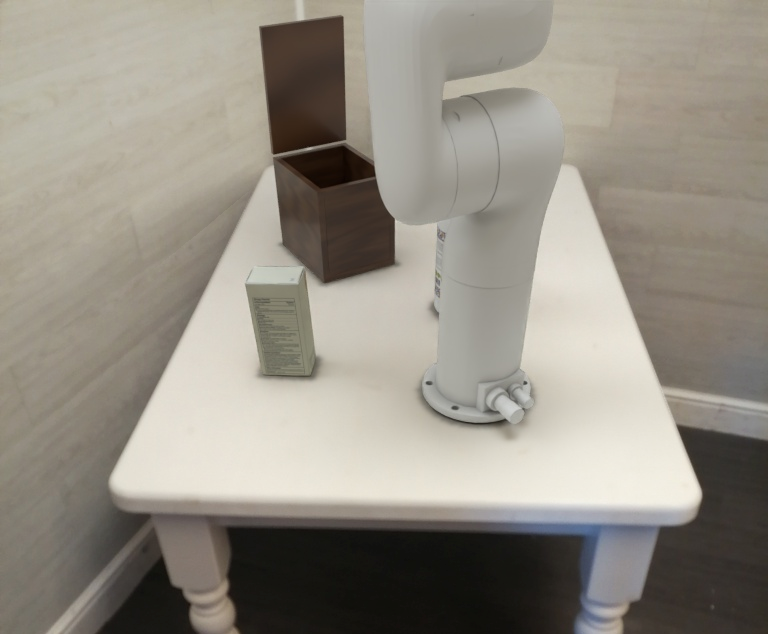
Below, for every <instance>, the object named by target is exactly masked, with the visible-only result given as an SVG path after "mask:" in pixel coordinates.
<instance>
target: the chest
mask: <svg viewBox="0 0 768 634" xmlns="http://www.w3.org/2000/svg"><path fill="white" fill-rule="evenodd" d="M272 160H273V161H272V163H273V170H274V171H273V172H274V179H275V189H276V197H277V206H278V215H279V223H280V233H281V242H282V244H283V246H285V248H286V249H287V250H289V252H291V253H292V254H293V255H294V257H296V258H297V259H298V260H299V261H300V262H301V263H302V264H303V265H304V266H305V267H306V268H307V269H308V270H309V271H311V272H312V273H313V274H314V275H315V276H316V277H317V278H318V279H319V280H320V281H321V282H322V283H323V284H328V283H331V282H334V281H338V280H342V279H345V278H349V277H352V276H357V275H360V274H364V273H367V272H370V271H374V270H378V269H382V268H385V267H389V266H392V265H395V264H396V219H395V218H394V217H393V216H392V215H391V214H390V213H389V212H388V210H387V208H386V207H385V205H384V203H383V200H382V198H381V195H380V192H379V188H378V184H377V179H376V173H375V166H374V159H371V158H370V157H369V156H367V155H365V153H362V152H361V151H359V150H357V149H356V148H354V147H353V146H351V145H350V144H348V143H347V142H342V143H337V144H332V145H326V146H322V147H317V148H313V149H307V150H303V151H297V152H294V153H288V154H283V155H278V156H274V157H272Z"/></svg>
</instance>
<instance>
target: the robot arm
mask: <svg viewBox="0 0 768 634" xmlns="http://www.w3.org/2000/svg"><path fill="white" fill-rule="evenodd" d="M553 12H554V0H364V1H363V9H362V31H363V33H362V35H363V51H364V62H365V74H366V84H367V85H366V86H367V97H368V108H369V109H368V110H369V120H370V133H371V145H372V155H373V161H374V166H375V173H376V179H377V184H378V188H379V192H380V195H381V198H382V200H383V203H384V205H385V207H386V208H387V210H388V212H389V213H390V214H391V215H392V216H393V217H394V218H395V221H397V222H400V223H401V224H404V225H407V226H423V225H424V226H425V225H430V224H434V223H438V222H439V221H443V220H447V219H451V218H452V219H451V222H450V224H449V227H448V229H447V233H446V236H445V240H444V244H443V252H442V266H441V285H440V305H439V313H438V328H437V350H436V362H435V363H433V364H432V365H431V366H430V367H429V368H427V370H426V372H425V373H424V375H423V377H422V385H421V388H422V395H423V397H424V400H425V401H426V402H427V404H428V405H429V406H430V407H431V408H432V409H434V410H435V411H436V412H438V413H439V414H442V415H443V416H445V417H448V418H451V419H453V420H457V421H461V422H466V423H475V424H485V423H495V422H498V421H503V420H507V422H509V423H510V424H511V425H517V424H519V423H520V422H521V421H522V420H523V419H524V417H525V414H526V413H525V410H529V409H531V408H532V407H533V406H534V405H535V399H534V398H533V397H532V396H530V394H531V389H532V388H531V382H530V379H529V377H528V376H527V374H526V372H525V371H523V369H522V368H521V366H522V365H521V364H522V358H523V352H524V345H525V339H526V331H527V324H528V317H529V311H530V304H531V297H532V290H533V283H534V276H535V271H536V265H537V258H538V251H539V247H540V246H539V245H540V241H541V235H542V230H543V225H544V221H545V217H546V213H547V210H548V207H549V204H550V201H551V197H552V196H553V192H554V189H555V187H556V184H557V181H558V179H559V175H560V172H561V168H562V164H563V159H564V154H565V141H566V135H565V127H564V123H563V119H562V116H561V114H560V112H559V110H558V108H557V107H556V105H555V104H554V102H552V100H551V99H549V98H548V97H547V96H546V95H545V94H543V93H541V92H539V91H537V90H534V89H531V88H527V87H514V86H513V87H503V88H496V89H491V90H490V89H489V90H485V91H480V92H474V93H469V94H463V95H460V96H457V97H452V98H446V99H444V98H443V97H444V87H445V82H446V83H447V82H451V81H452V82H453V81H458V80H464V79H469V78H475V77H482V76H487V75H491V74H496V73H501V72H506V71H510V70H514V69H517V68H520V67H523V66H525V65H527V64H528V63H530V62H533V61H534V60H535V59H536V58H537V57H539V55H540V54H541V53H542V52H543V50H544V48H545V46H547V42H548V39H549V36H550V33H551V28H552V21H553ZM524 409H525V410H524Z"/></svg>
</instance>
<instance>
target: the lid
mask: <svg viewBox="0 0 768 634" xmlns="http://www.w3.org/2000/svg"><path fill="white" fill-rule="evenodd" d="M258 30H259V40H260V41H259V42H260V51H261V60H262V71H263V81H264V82H263V83H264V91H265V101H266V102H265V103H266V111H267V122H268V123H267V124H268V132H269V143H270V144H269V145H270V150H271V151H270V153H271V155H273V156H274V155H280V154H286V153H289V152H294V151H300V150H304V149H309V148H314V147H318V146H319V147H320V146H325V145H329V144H334V143H339V142H344V141H347V107H346V106H347V105H346V104H347V103H346V64H345V62H346V60H345V57H346V56H345V18H344V16H343V15H342V14H339V15H337V14H336V15H330V16H322V17H316V18H308V19H302V20H295V21H294V20H293V21H286V22H279V23H273V24H265V25H259V26H258Z"/></svg>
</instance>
